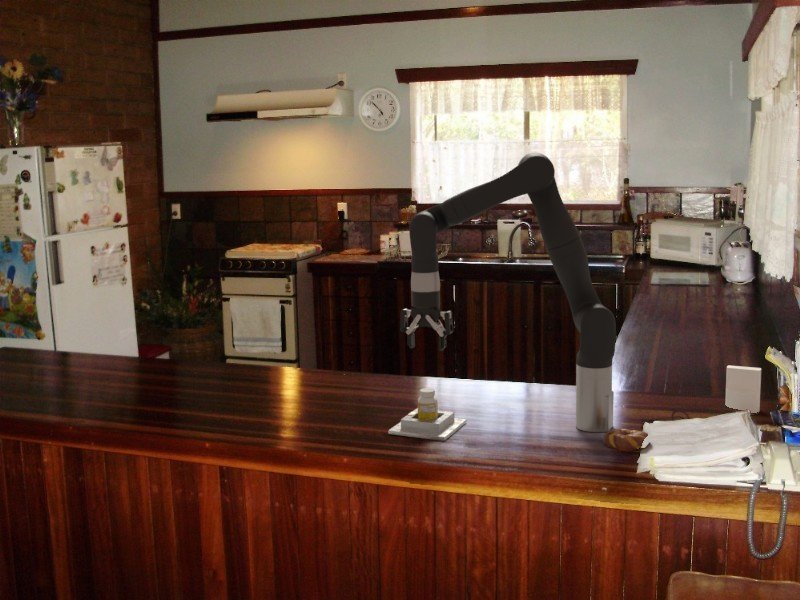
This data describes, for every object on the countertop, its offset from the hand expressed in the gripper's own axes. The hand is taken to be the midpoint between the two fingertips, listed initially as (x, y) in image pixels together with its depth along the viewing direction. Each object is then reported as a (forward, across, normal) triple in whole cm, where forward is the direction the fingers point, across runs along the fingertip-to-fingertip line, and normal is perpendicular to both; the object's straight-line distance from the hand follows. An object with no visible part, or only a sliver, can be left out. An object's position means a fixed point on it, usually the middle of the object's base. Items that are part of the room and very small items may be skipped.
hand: (426, 348), depth 237 cm
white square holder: (+22, 0, 0) cm, 22 cm away
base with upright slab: (+22, +76, +46) cm, 92 cm away
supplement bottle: (+21, 0, 0) cm, 21 cm away
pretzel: (+23, +52, +6) cm, 57 cm away
